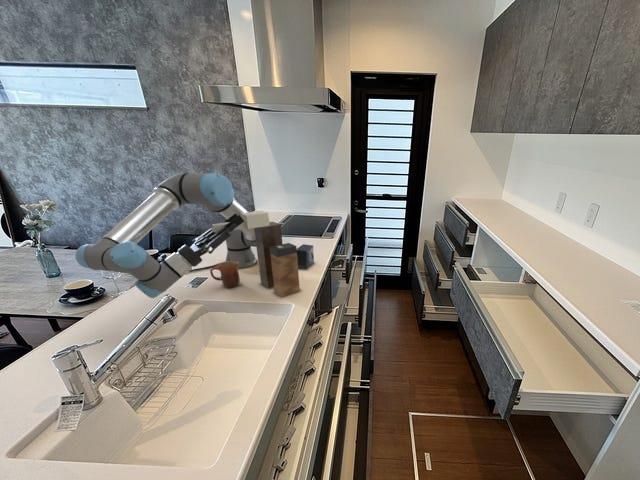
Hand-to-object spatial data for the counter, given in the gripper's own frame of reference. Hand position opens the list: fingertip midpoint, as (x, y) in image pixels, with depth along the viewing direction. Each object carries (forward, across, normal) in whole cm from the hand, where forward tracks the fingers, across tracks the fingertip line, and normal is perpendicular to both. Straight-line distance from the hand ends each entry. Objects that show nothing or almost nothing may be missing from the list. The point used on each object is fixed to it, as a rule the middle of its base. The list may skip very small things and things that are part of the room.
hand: (239, 217), depth 111 cm
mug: (-18, -22, -30) cm, 42 cm away
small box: (+17, -20, -50) cm, 57 cm away
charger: (-1, 0, -4) cm, 4 cm away
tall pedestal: (-4, -11, -38) cm, 40 cm away
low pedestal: (-4, +1, -38) cm, 38 cm away
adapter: (+5, +1, -23) cm, 23 cm away
